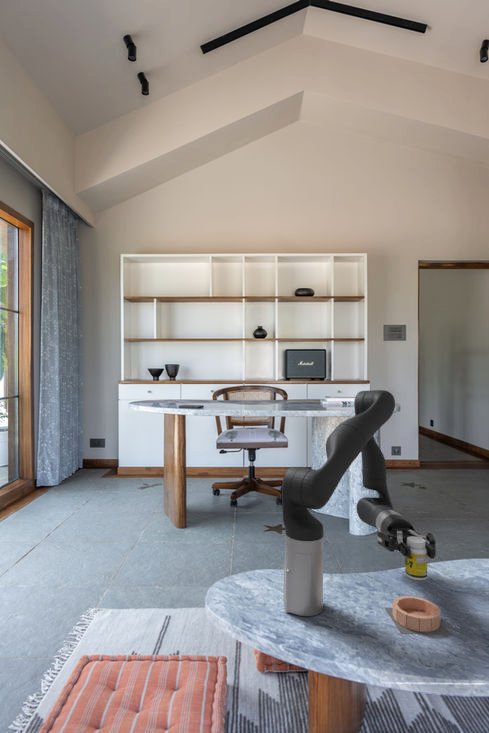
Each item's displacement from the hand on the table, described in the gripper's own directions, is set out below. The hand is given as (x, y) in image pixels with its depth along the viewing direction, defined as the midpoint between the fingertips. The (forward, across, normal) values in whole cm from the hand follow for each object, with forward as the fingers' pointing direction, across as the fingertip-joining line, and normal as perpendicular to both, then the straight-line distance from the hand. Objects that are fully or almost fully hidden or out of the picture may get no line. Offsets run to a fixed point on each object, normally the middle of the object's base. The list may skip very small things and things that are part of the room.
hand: (421, 554), depth 98 cm
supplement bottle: (-3, 0, +6) cm, 7 cm away
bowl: (-2, 0, +16) cm, 16 cm away
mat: (-2, 0, +16) cm, 16 cm away
